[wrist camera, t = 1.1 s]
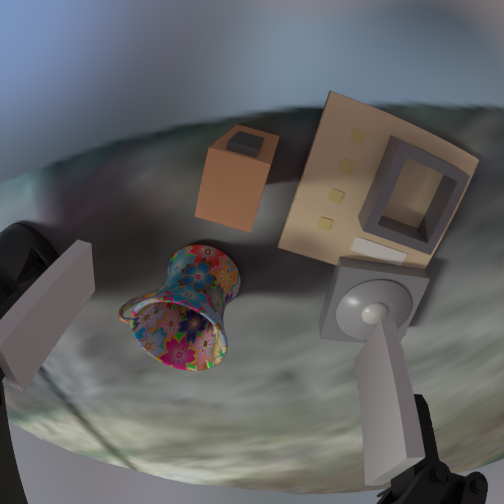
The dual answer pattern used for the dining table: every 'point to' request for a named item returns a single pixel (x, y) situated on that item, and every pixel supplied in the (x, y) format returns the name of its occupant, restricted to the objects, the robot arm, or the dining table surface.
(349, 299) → the grey domed square block
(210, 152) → the plug
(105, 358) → the dining table surface
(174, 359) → the mug
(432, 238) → the board
